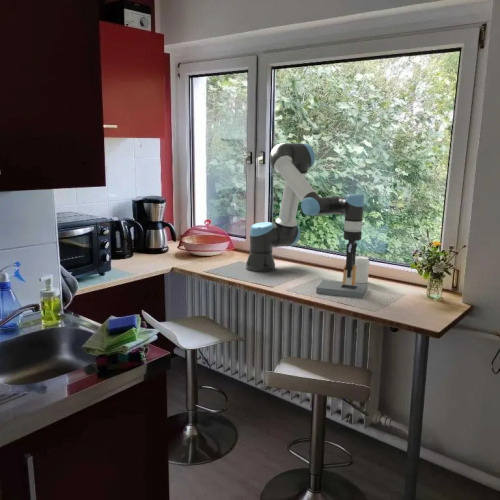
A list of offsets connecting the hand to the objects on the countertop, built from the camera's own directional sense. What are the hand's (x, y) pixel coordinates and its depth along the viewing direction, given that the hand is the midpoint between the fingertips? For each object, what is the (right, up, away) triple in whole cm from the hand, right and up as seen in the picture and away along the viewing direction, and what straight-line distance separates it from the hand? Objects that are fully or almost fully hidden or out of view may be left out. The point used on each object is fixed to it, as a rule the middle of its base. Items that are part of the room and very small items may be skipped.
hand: (349, 283), depth 219 cm
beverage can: (+8, -1, +18) cm, 20 cm away
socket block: (-3, -4, +2) cm, 5 cm away
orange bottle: (0, 0, 0) cm, 0 cm away
